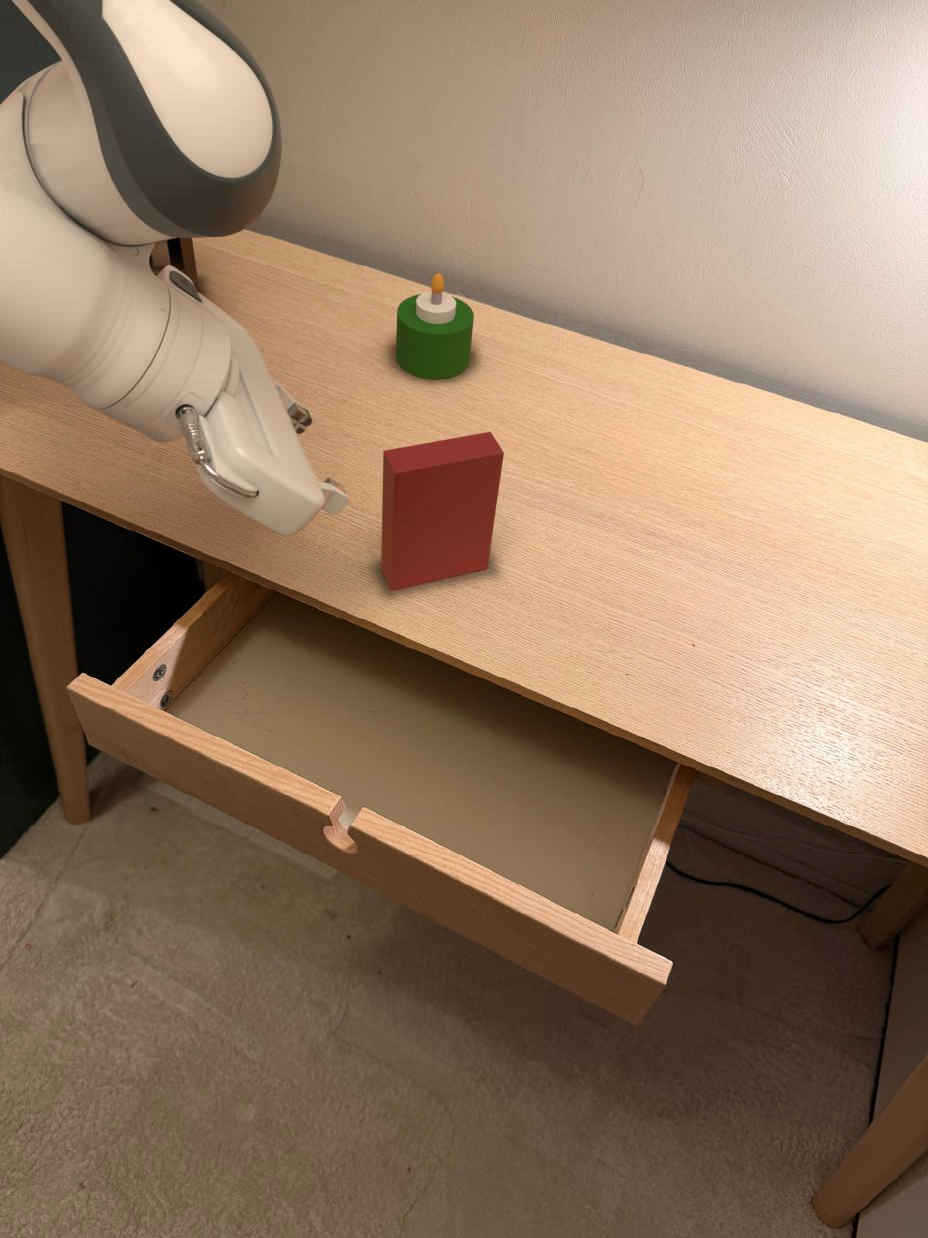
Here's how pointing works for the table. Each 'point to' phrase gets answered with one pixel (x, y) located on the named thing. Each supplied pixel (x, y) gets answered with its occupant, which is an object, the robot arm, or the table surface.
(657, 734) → the table surface
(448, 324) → the candle
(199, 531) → the table surface
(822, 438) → the table surface
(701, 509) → the table surface
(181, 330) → the robot arm
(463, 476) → the book
